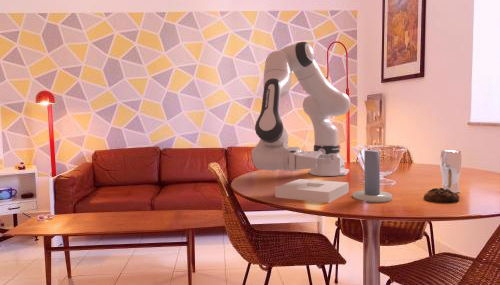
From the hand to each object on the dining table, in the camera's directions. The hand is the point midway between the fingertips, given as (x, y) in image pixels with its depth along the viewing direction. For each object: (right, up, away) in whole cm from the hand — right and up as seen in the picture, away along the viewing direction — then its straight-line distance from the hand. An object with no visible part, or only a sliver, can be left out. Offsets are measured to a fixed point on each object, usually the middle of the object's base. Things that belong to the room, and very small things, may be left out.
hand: (332, 159), depth 144 cm
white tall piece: (+44, -12, +5) cm, 46 cm away
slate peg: (+13, -12, -4) cm, 18 cm away
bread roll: (+35, -14, -8) cm, 38 cm away
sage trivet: (+13, -13, -4) cm, 19 cm away
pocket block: (-7, -13, +2) cm, 15 cm away
